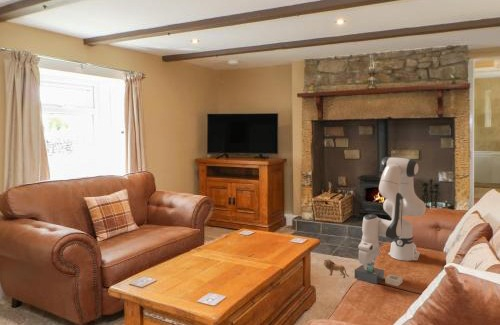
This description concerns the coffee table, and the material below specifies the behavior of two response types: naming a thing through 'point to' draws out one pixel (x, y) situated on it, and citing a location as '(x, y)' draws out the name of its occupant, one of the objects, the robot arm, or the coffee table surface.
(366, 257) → the robot arm
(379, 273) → the block
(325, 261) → the lion figurine
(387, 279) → the white square block
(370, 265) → the plug
